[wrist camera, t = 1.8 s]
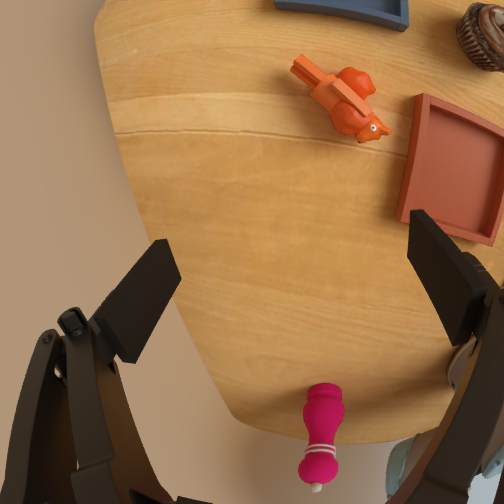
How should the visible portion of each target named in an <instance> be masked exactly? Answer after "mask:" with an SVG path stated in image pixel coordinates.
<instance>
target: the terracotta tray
mask: <svg viewBox="0 0 504 504" xmlns="http://www.w3.org/2000/svg"><path fill="white" fill-rule="evenodd" d="M417 209H423V210H424V211H425V212H426V213H427V214H428V215H429V216H430V217H431V218H432V219H433V220H434V221H435V222H436V223H437V224H438V226H439V227H440V228H441V229H442V230H443V231H444V232H445V233H446V234H450V235H453V236H457V237H460V238H464V239H467V240H471V241H474V242H477V243H481V244H484V245H488V246H491V247H493V244H494V241H495V238H496V235H497V232H498V229H499V225H500V222H501V219H502V215H503V212H504V129H502V128H500V127H499V126H497V125H495V124H493V123H491V122H489V121H487V120H485V119H483V118H481V117H479V116H477V115H475V114H473V113H471V112H469V111H467V110H464V109H462V108H460V107H458V106H455V105H453V104H451V103H448V102H446V101H443V100H441V99H438V98H435V97H433V96H430V95H427V94H425V93H422V94H419V95H416V99H415V109H414V117H413V125H412V132H411V139H410V145H409V151H408V157H407V162H406V167H405V172H404V177H403V182H402V187H401V191H400V196H399V200H398V204H397V208H396V212H395V216H396V217H397V218H398V220H399V221H400V222H403V223H408V224H409V222H410V210H417Z"/></svg>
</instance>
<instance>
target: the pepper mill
mask: <svg viewBox="0 0 504 504" xmlns="http://www.w3.org/2000/svg"><path fill="white" fill-rule="evenodd" d="M341 401H342V391H341V389H340V388H339V387H338V386H336V385H334V384H329V383H323V384H318V385H315V386H313V387H312V388H311V389H310V390H309V391H308V397H307V403H306V405H305V406H304V408H303V419H304V423H305V425H306V427H307V429H308V432H309V444H308V446H307V447H306V448H305V450H304V452H305V453H304V457H305V459H303V460H302V461H301V463H300V464H299V467H298V473H299V476H300V478H301V479H302V480H303V481H304V482H306V483H309V484H311V486H310V490H311V491H312V492H318V491H320V490H321V488H322V485H321V484H325V483H327V482H330V481H331V480H332V479H333V478H334V477H335V476H336V474H337V472H338V463H337V461H336V460H335V459H334V458H335V457H336V448H335V447H334V443H333V441H334V435H335V433H336V431H337V429H338V427H339V425H340V424H341V422H342V419H343V417H344V411H345V409H344V405H343V404H342V402H341Z"/></svg>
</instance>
